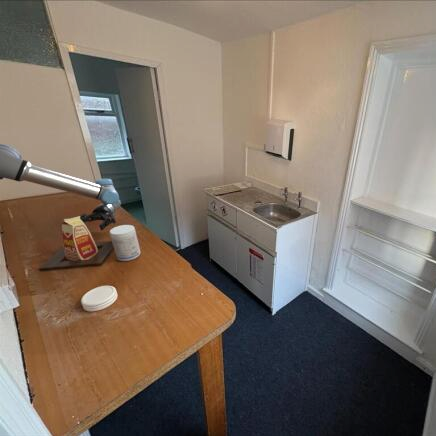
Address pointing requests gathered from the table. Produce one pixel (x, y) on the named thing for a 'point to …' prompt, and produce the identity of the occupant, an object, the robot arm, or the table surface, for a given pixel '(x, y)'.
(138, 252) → the supplement tub
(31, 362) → the table surface
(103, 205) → the robot arm
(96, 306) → the coaster
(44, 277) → the table surface
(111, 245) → the holder board
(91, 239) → the milk carton
